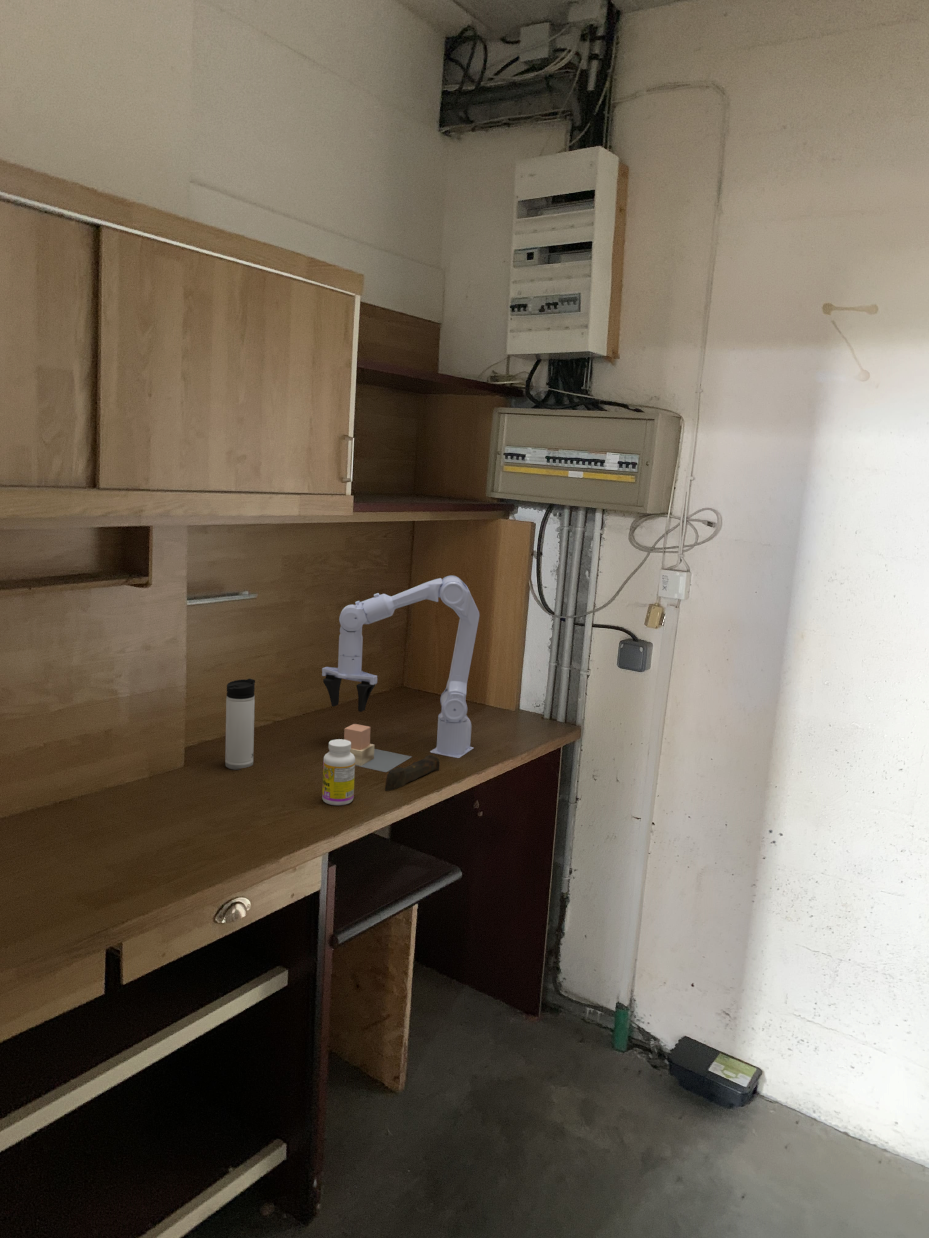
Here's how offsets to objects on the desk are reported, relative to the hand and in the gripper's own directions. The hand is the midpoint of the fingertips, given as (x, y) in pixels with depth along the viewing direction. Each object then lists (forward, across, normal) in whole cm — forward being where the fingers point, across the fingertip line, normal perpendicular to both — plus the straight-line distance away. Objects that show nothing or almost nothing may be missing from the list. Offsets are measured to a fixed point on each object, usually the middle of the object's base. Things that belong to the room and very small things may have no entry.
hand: (348, 708), depth 225 cm
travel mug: (+11, -14, -24) cm, 30 cm away
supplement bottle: (+11, +16, -30) cm, 36 cm away
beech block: (+10, +7, -7) cm, 14 cm away
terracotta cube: (+6, +7, -7) cm, 12 cm away
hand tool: (+11, +24, -11) cm, 29 cm away
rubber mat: (+10, +10, -4) cm, 15 cm away
